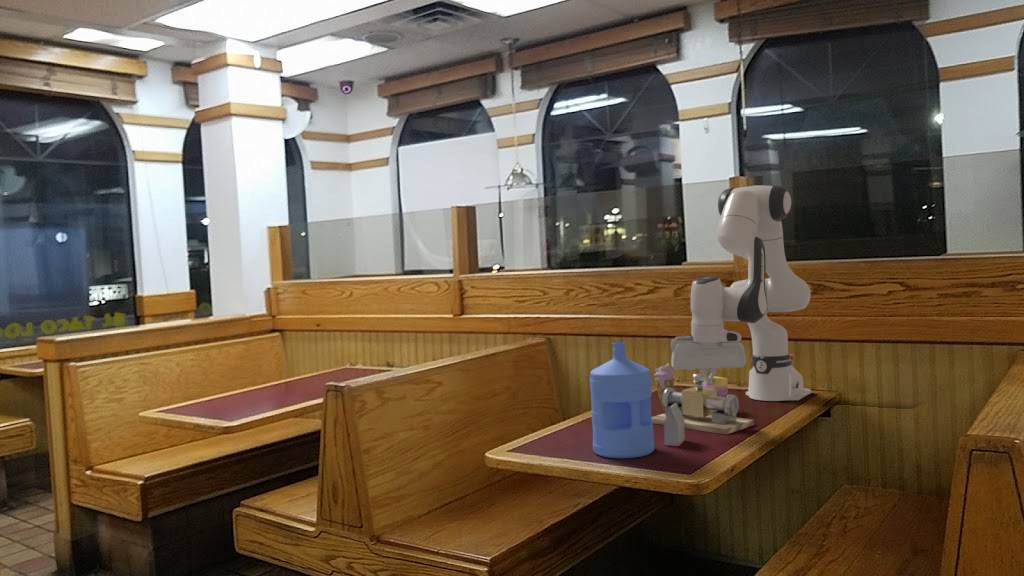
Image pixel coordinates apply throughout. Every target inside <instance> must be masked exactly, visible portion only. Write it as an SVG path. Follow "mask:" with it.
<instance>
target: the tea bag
mask: <svg viewBox="0 0 1024 576" xmlns="http://www.w3.org/2000/svg"><path fill="white" fill-rule="evenodd" d="M663 432H664V433H663V434H664V435H663V437H664V446H666V447H667V446H671V447H679V446H681V444H683V442H684V441H685V440H686V437H685V436H686V435H685V433H686V432H685V428H684V417H683V415H682V414H681V412H680V410H679V408H678V405H677V403H675V404H673V405H672V406H671V407H670V408H669V411H668V415H667V417H666V419H665V421H664V425H663Z"/></svg>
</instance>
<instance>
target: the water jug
mask: <svg viewBox="0 0 1024 576" xmlns="http://www.w3.org/2000/svg"><path fill="white" fill-rule="evenodd" d="M625 345H626V342H625V341H617V342H616V341H615V342H612V346H613V348H612V352H613V356H612V358H611V359H609V360H608V361H606V362H605V363H602V364H601V365H599V366H597V367H595V368H593V369H592V370H591V371H590V373H589V374H590V376H589V387H590V401H591V402H590V403H591V412H590V415H591V421H592V450H593V452H594V453H595V454H596V455H598V456H600V457H604V458H608V459H634V458H635V459H636V458H643V457H645V456H648V455H650V454H651V453H653V452H654V450H655V440H654V424H653V423H652V419H651V417H652V403H651V402H652V401H651V399H652V398H651V397H652V394H653V393H652V392H653V391H652V386H653V380H652V375H651V374H652V372H651V369H649V368H648V367H646V366H644V365H641V364H639V363H637V362H636V361H632V360H630V359H628V358H627V356H626V346H625Z"/></svg>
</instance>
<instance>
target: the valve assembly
mask: <svg viewBox="0 0 1024 576" xmlns="http://www.w3.org/2000/svg"><path fill="white" fill-rule="evenodd" d="M694 385H695V386H692V387H689V388H684V389H682V390H681V392H680V391H677V389H676V388H674V387H673V388H666V389H665V390H664V392H663V395H662V402H663V405H664V406H665V411H664V413H661V414H658V415H654V416H651V419H652V423H653V425H654V424H655V425H660V426H661V425H662V426H664V421H665V419H666V417H667V415H668V411H669V408H670V407H671V406H672V405H673V404H675V403H677V405H678V408H679V410H680V412H681V414H682V415H683V417H684V429H686V430H687V429H688V430H694V431H699V432H700V431H701V432H706V433H707V432H708V433H714V434H720V435H726V436H727V435H729V434H732V433H734V432H739V431H741V430H744V429H747V428H749V427H752V426H754V424H755V423H754V420H755V419H750V418H742V417H737V414H738V413H739V409H740V401H739V398H738V396H737V395H736V394H729V393H728V395H727V396H726V397H717V389H714V388H705V387H703V385H702V382H699V383H698V382H694Z"/></svg>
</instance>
